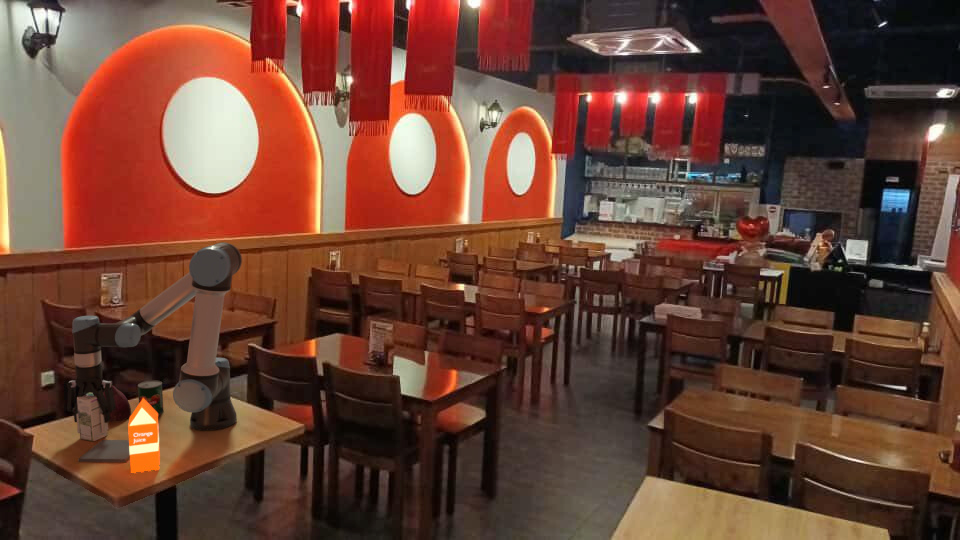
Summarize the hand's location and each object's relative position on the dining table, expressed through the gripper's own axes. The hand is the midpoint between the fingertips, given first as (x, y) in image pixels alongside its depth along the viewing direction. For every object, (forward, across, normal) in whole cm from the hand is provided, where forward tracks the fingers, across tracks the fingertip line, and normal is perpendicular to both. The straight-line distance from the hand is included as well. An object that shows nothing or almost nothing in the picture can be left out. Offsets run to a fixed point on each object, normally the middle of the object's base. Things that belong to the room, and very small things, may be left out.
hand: (93, 431), depth 223 cm
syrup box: (+2, 0, 0) cm, 2 cm away
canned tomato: (+2, -9, -22) cm, 24 cm away
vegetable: (+2, +2, -18) cm, 18 cm away
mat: (+2, -12, +11) cm, 16 cm away
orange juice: (+2, -26, +20) cm, 33 cm away
